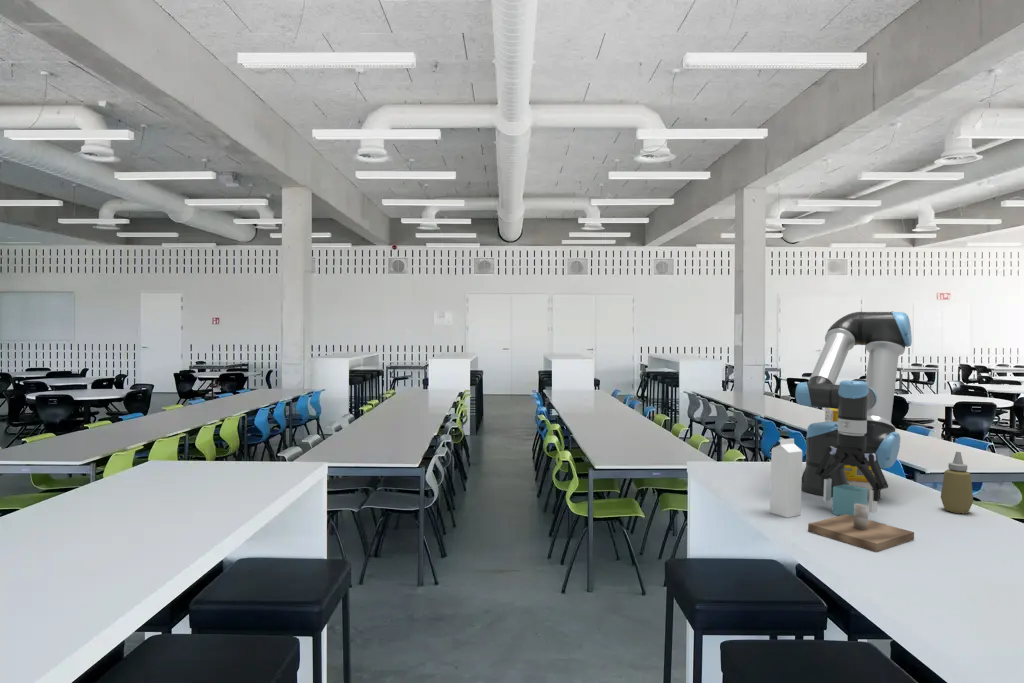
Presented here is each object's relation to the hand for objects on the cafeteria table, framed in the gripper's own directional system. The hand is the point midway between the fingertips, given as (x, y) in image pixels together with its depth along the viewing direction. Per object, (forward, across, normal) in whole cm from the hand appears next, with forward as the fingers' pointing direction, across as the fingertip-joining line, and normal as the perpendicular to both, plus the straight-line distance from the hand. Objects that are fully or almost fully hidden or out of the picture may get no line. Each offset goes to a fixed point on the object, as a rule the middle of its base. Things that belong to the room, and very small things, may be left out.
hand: (849, 506), depth 185 cm
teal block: (+3, 0, 0) cm, 3 cm away
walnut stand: (+3, +12, -16) cm, 20 cm away
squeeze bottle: (+2, +14, +33) cm, 36 cm away
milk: (+3, -10, -16) cm, 19 cm away
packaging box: (+2, -28, +50) cm, 58 cm away
